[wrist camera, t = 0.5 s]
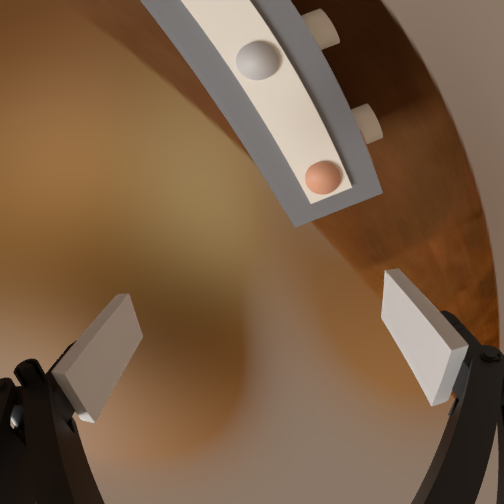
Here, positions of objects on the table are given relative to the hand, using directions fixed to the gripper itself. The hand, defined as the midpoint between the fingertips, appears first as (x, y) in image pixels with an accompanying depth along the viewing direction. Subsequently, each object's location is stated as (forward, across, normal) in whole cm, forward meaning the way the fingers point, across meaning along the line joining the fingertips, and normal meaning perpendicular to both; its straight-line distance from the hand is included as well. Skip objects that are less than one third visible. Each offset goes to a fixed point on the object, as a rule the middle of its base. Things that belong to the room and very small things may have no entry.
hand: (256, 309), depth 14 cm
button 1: (+20, +11, +10) cm, 25 cm away
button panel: (+24, +3, +20) cm, 31 cm away
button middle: (+16, +6, +19) cm, 26 cm away
